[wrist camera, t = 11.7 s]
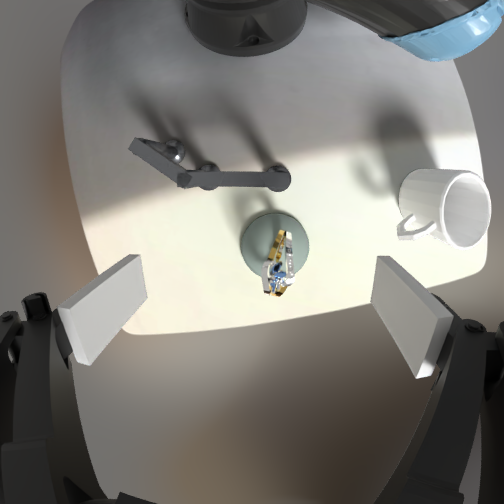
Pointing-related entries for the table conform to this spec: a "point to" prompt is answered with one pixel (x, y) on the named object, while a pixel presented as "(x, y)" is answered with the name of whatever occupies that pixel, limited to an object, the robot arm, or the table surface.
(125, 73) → the table surface
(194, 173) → the bent grey rail
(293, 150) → the table surface
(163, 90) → the table surface
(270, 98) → the table surface
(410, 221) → the mug
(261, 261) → the felt coaster
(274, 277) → the ring
